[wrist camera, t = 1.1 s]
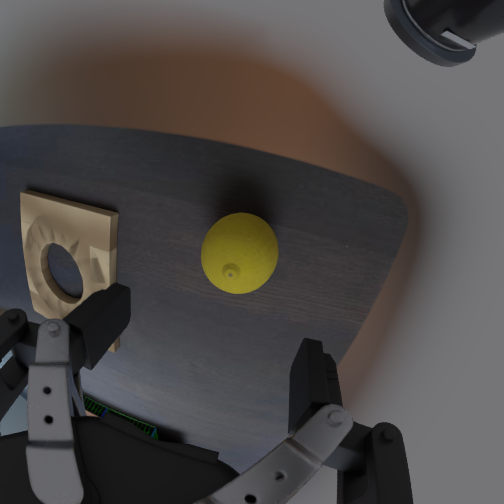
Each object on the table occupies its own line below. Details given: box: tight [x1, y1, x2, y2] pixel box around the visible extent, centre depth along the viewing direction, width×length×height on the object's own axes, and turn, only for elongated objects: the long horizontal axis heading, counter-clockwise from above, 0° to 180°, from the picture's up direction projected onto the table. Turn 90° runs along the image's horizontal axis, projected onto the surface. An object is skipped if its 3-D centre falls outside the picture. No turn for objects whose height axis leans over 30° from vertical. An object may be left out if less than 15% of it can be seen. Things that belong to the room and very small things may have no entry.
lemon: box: [201, 213, 279, 294], centre depth 20 cm, size 6×6×8 cm
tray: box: [20, 190, 120, 353], centre depth 27 cm, size 18×16×2 cm
